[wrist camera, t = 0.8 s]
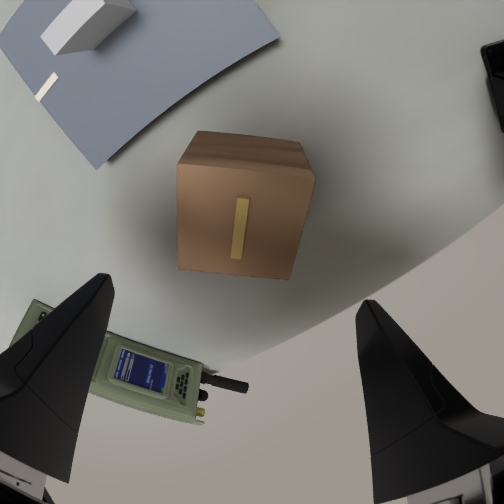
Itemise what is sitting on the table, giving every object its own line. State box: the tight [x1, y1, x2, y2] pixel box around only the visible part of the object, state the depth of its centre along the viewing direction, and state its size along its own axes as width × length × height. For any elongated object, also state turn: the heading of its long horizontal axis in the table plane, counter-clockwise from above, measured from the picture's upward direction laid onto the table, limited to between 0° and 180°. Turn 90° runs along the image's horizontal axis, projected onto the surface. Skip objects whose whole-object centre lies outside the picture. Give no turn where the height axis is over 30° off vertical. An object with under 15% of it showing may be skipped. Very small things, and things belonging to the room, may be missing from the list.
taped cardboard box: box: [177, 131, 316, 280], centre depth 15 cm, size 6×6×5 cm
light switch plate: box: [0, 0, 280, 170], centre depth 9 cm, size 12×12×5 cm
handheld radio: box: [9, 299, 249, 425], centre depth 26 cm, size 7×3×25 cm
